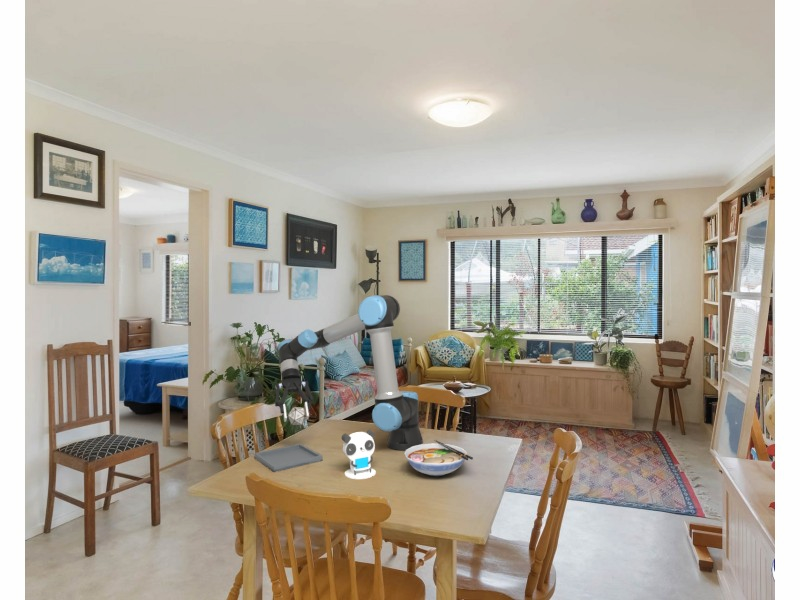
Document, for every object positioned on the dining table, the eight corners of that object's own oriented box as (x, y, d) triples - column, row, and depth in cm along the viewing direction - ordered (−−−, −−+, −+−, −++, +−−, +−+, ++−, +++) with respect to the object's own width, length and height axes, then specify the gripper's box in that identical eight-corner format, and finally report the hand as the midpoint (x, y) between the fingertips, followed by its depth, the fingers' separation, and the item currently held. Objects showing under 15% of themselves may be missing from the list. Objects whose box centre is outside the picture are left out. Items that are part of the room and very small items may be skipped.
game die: (301, 433, 208) (316, 412, 210) (295, 432, 200) (310, 410, 202) (284, 421, 210) (299, 401, 212) (278, 419, 202) (293, 398, 204)
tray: (322, 460, 198) (322, 455, 198) (274, 472, 186) (273, 466, 186) (300, 448, 214) (300, 443, 214) (254, 458, 202) (254, 453, 202)
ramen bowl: (393, 466, 190) (393, 445, 190) (447, 457, 199) (446, 437, 199) (422, 490, 167) (422, 466, 167) (481, 479, 176) (481, 456, 176)
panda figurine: (349, 481, 176) (348, 439, 176) (338, 471, 186) (337, 431, 186) (380, 475, 181) (379, 434, 181) (368, 466, 191) (368, 426, 191)
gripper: (313, 375, 223) (321, 420, 209) (264, 379, 216) (269, 426, 201) (315, 365, 218) (323, 411, 204) (265, 368, 211) (270, 416, 196)
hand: (296, 418), depth 203 cm, fingers closed on game die, 8 cm apart
